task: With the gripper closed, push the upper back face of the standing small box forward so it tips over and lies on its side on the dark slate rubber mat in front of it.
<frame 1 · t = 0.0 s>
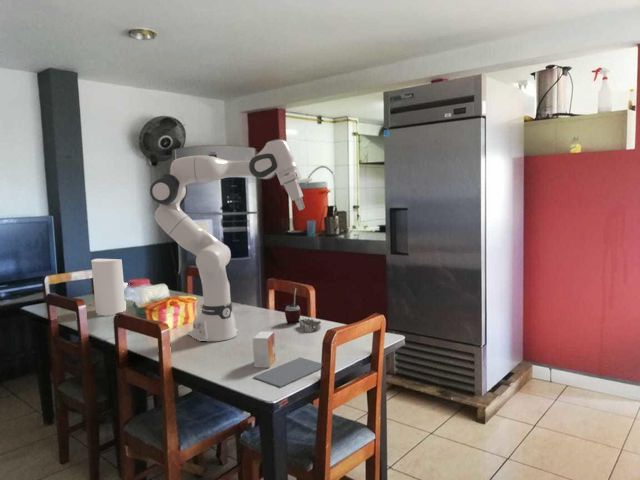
hand: (302, 209, 199), 52 cm above the table, tool tilted 20°, fingers open, 8 cm apart
small box: (265, 364, 172), on the table
cylinder: (114, 312, 257), on the table
mate gourd: (293, 323, 222), on the table
egg carton: (309, 329, 213), on the table
slate mat: (291, 371, 164), on the table
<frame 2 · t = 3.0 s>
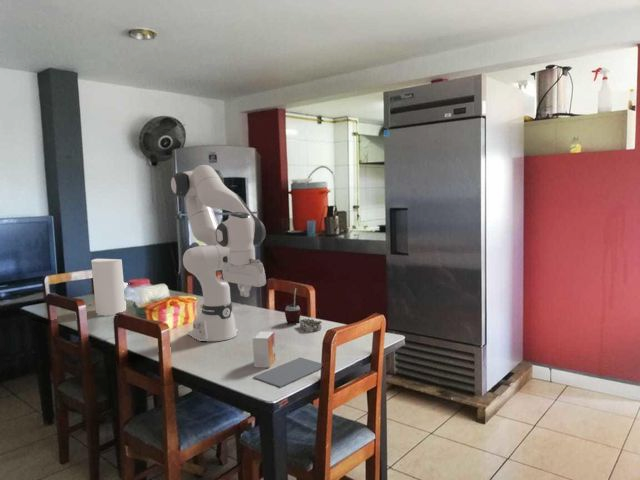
hand: (245, 296, 176), 23 cm above the table, tool pointing down, fingers closed
nothing on the table moved.
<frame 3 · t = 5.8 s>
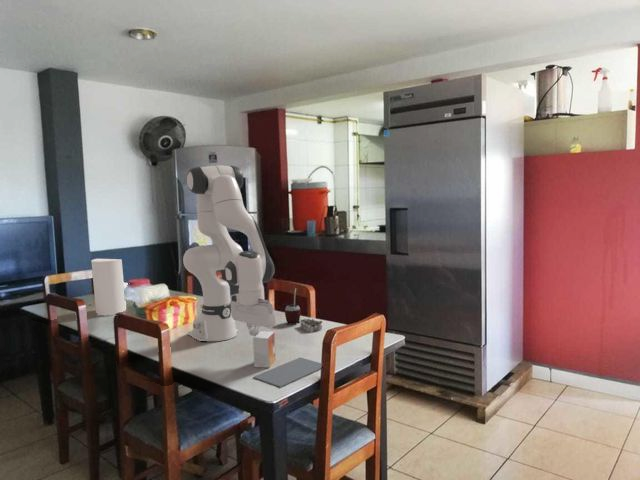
hand: (254, 335, 175), 9 cm above the table, tool pointing down, fingers closed
small box: (265, 364, 172), on the table, touching gripper
everything else where it was.
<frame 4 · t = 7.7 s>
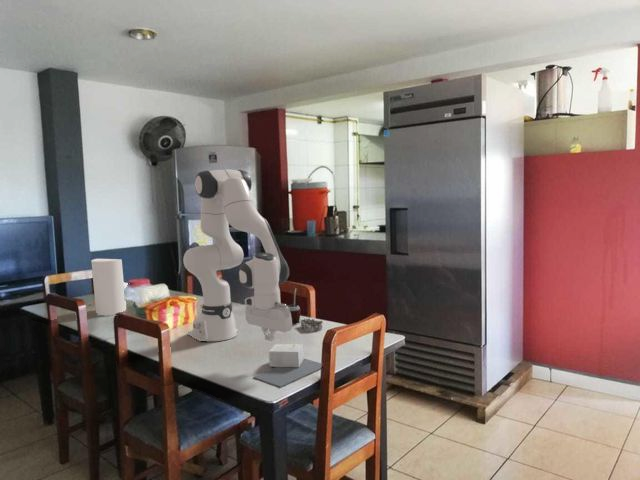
hand: (269, 340, 169), 9 cm above the table, tool pointing down, fingers closed
small box: (271, 355, 172), point 3 cm above the table, touching slate mat
everything else where it was.
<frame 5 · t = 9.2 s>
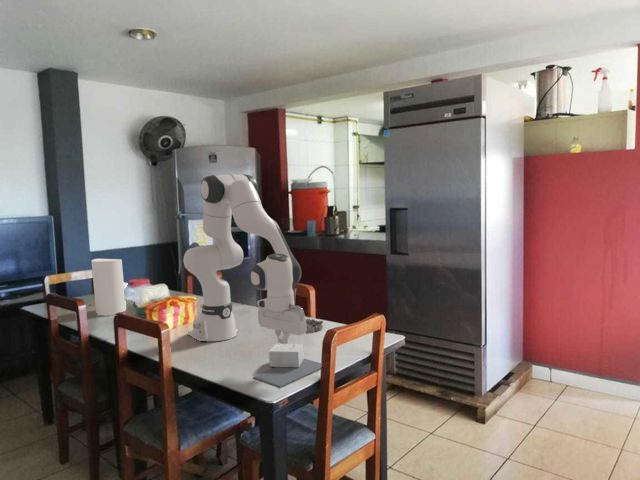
hand: (283, 343, 165), 9 cm above the table, tool pointing down, fingers closed
nothing on the table moved.
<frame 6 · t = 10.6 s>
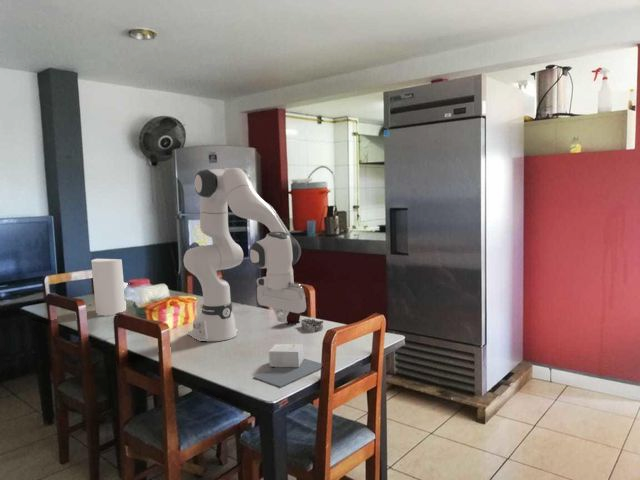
hand: (282, 321, 164), 17 cm above the table, tool pointing down, fingers closed
nothing on the table moved.
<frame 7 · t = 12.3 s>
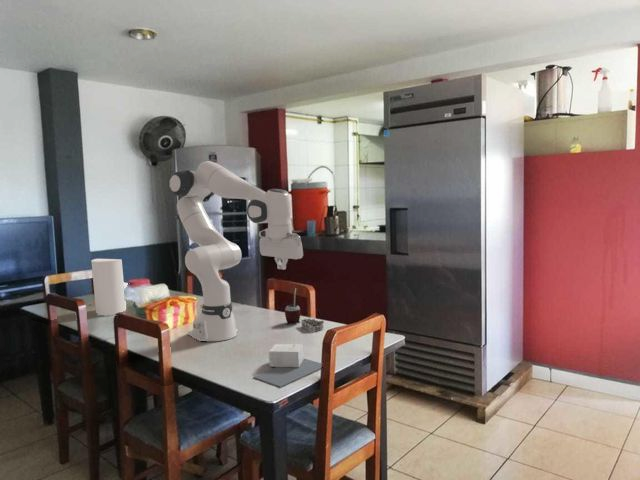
hand: (281, 269, 184), 31 cm above the table, tool pointing down, fingers closed
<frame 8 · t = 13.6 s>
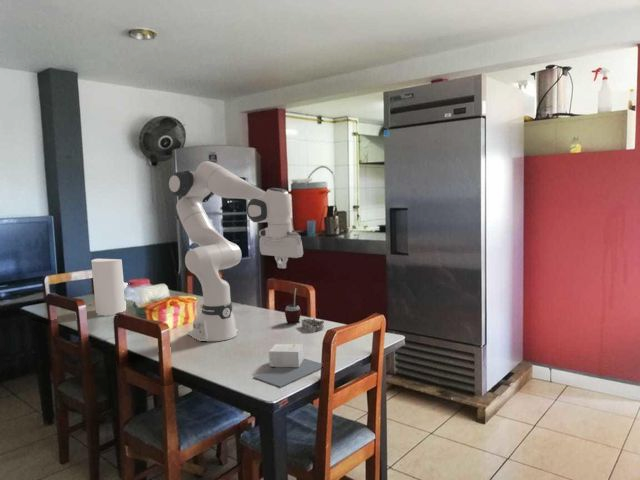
hand: (281, 268, 185), 31 cm above the table, tool pointing down, fingers closed
at the end: small box tilted 90°; small box inside the target area on the slate mat (8.0 cm from its centre), point 3.2 cm above the slate mat's base; the gripper is holding nothing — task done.
